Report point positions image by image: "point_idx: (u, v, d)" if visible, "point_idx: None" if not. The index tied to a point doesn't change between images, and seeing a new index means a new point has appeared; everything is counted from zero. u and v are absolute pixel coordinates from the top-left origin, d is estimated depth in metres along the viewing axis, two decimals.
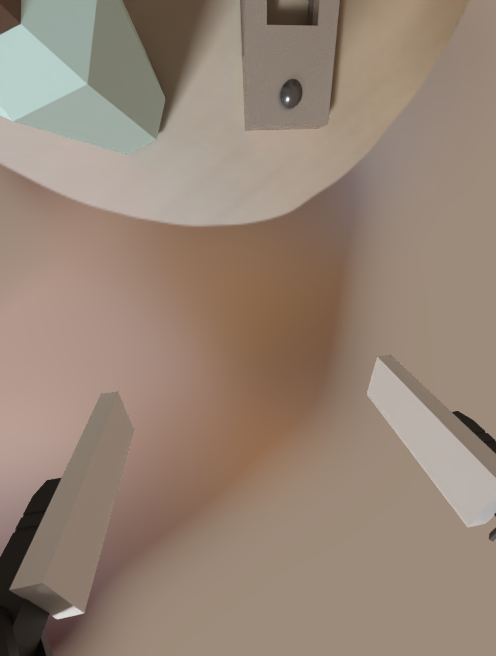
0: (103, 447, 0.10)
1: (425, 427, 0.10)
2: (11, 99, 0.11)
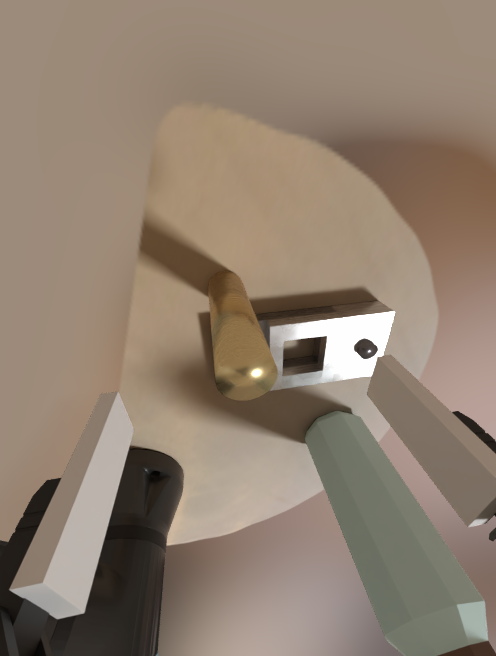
0: (103, 447, 0.10)
1: (425, 427, 0.10)
2: None
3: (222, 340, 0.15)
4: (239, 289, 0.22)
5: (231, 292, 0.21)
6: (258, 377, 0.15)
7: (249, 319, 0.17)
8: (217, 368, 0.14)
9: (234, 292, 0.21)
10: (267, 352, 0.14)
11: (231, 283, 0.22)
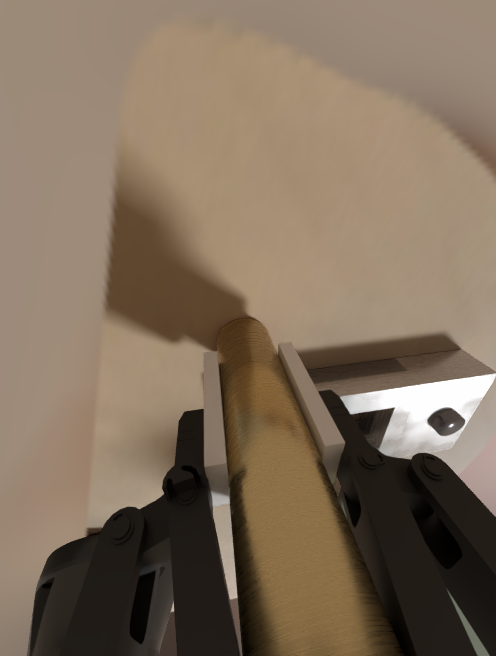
0: (220, 389, 0.12)
1: (298, 403, 0.12)
2: None
3: (261, 576, 0.06)
4: (272, 365, 0.13)
5: (260, 376, 0.12)
6: None
7: (314, 477, 0.08)
8: None
9: (266, 377, 0.12)
10: (395, 654, 0.05)
11: (258, 350, 0.13)
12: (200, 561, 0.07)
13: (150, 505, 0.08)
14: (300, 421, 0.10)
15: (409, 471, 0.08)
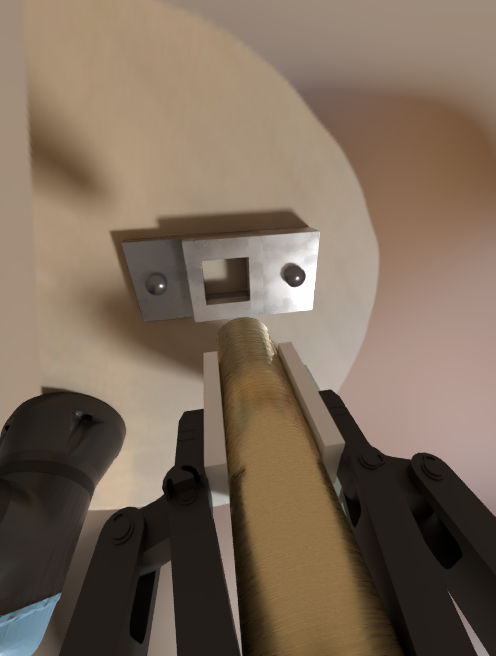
0: (220, 389, 0.12)
1: (298, 403, 0.12)
2: None
3: (260, 570, 0.06)
4: (272, 363, 0.13)
5: (259, 374, 0.12)
6: None
7: (312, 473, 0.08)
8: None
9: (266, 375, 0.12)
10: (392, 646, 0.05)
11: (257, 348, 0.13)
12: (200, 561, 0.07)
13: (150, 505, 0.08)
14: (299, 418, 0.10)
15: (409, 471, 0.08)
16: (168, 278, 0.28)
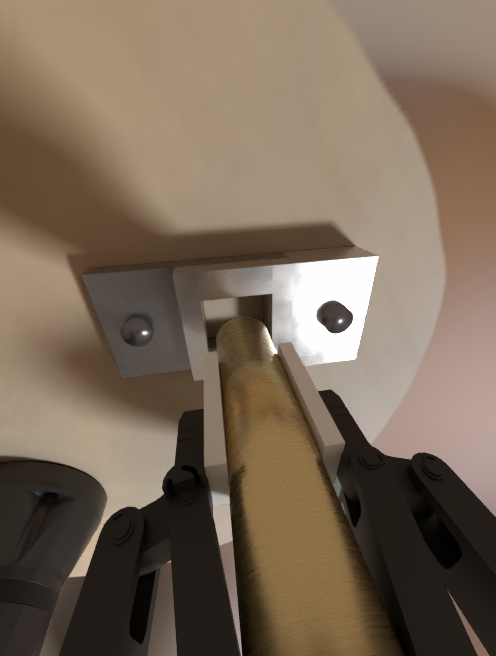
0: (220, 389, 0.12)
1: (298, 403, 0.12)
2: None
3: (259, 563, 0.06)
4: (271, 361, 0.13)
5: (259, 372, 0.12)
6: None
7: (311, 469, 0.08)
8: None
9: (265, 373, 0.12)
10: (388, 637, 0.05)
11: (257, 347, 0.13)
12: (200, 561, 0.07)
13: (150, 505, 0.08)
14: (298, 416, 0.10)
15: (409, 471, 0.08)
16: (154, 322, 0.19)
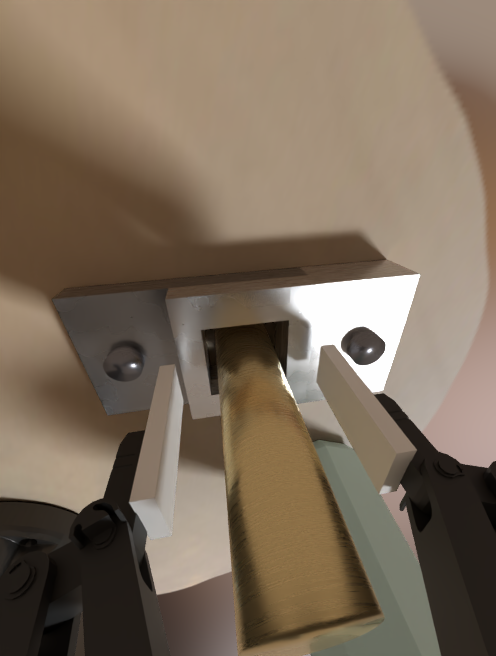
0: (171, 407, 0.11)
1: (351, 407, 0.11)
2: None
3: (250, 526, 0.07)
4: (266, 352, 0.13)
5: (254, 362, 0.12)
6: (338, 634, 0.06)
7: (300, 447, 0.09)
8: (245, 640, 0.06)
9: (260, 363, 0.12)
10: (363, 585, 0.06)
11: (253, 339, 0.14)
12: (118, 609, 0.06)
13: (66, 546, 0.07)
14: (290, 401, 0.11)
15: (486, 476, 0.08)
16: (145, 352, 0.16)
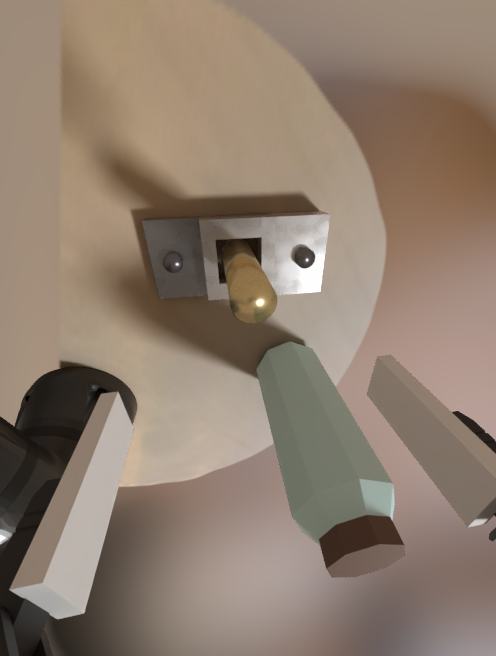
0: (103, 447, 0.10)
1: (425, 427, 0.10)
2: (393, 506, 0.23)
3: (235, 277, 0.20)
4: (248, 250, 0.27)
5: (242, 250, 0.26)
6: (262, 303, 0.19)
7: (257, 266, 0.22)
8: (232, 293, 0.19)
9: (244, 251, 0.25)
10: (269, 284, 0.19)
11: (242, 246, 0.27)
12: None
13: None
14: (257, 261, 0.24)
15: None
16: (184, 257, 0.29)
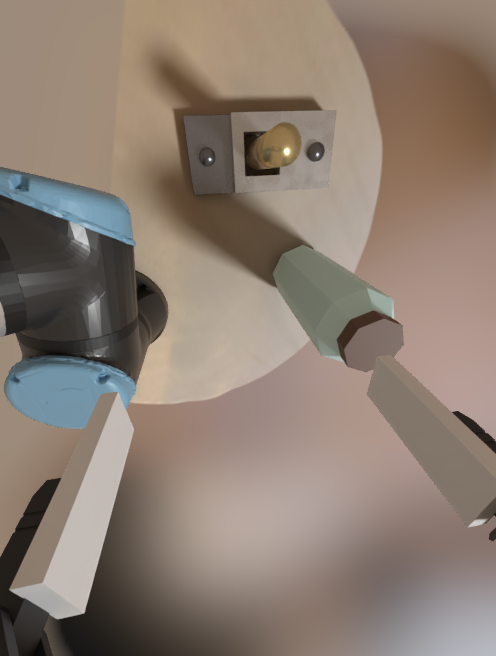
0: (103, 447, 0.10)
1: (425, 427, 0.10)
2: None
3: (268, 131, 0.26)
4: None
5: None
6: (290, 146, 0.25)
7: None
8: (268, 135, 0.25)
9: None
10: None
11: None
12: None
13: None
14: None
15: None
16: (216, 152, 0.35)
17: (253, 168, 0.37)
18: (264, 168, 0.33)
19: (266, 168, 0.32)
